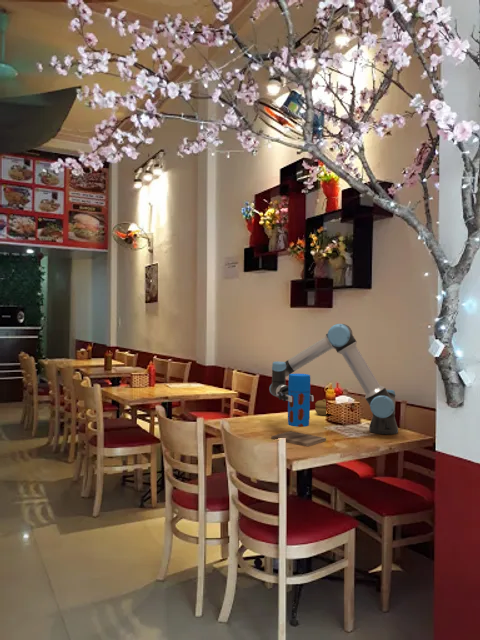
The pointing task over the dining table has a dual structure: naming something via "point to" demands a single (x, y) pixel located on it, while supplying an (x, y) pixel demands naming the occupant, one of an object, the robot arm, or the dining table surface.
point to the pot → (321, 407)
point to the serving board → (299, 438)
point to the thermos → (299, 400)
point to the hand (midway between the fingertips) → (302, 399)
